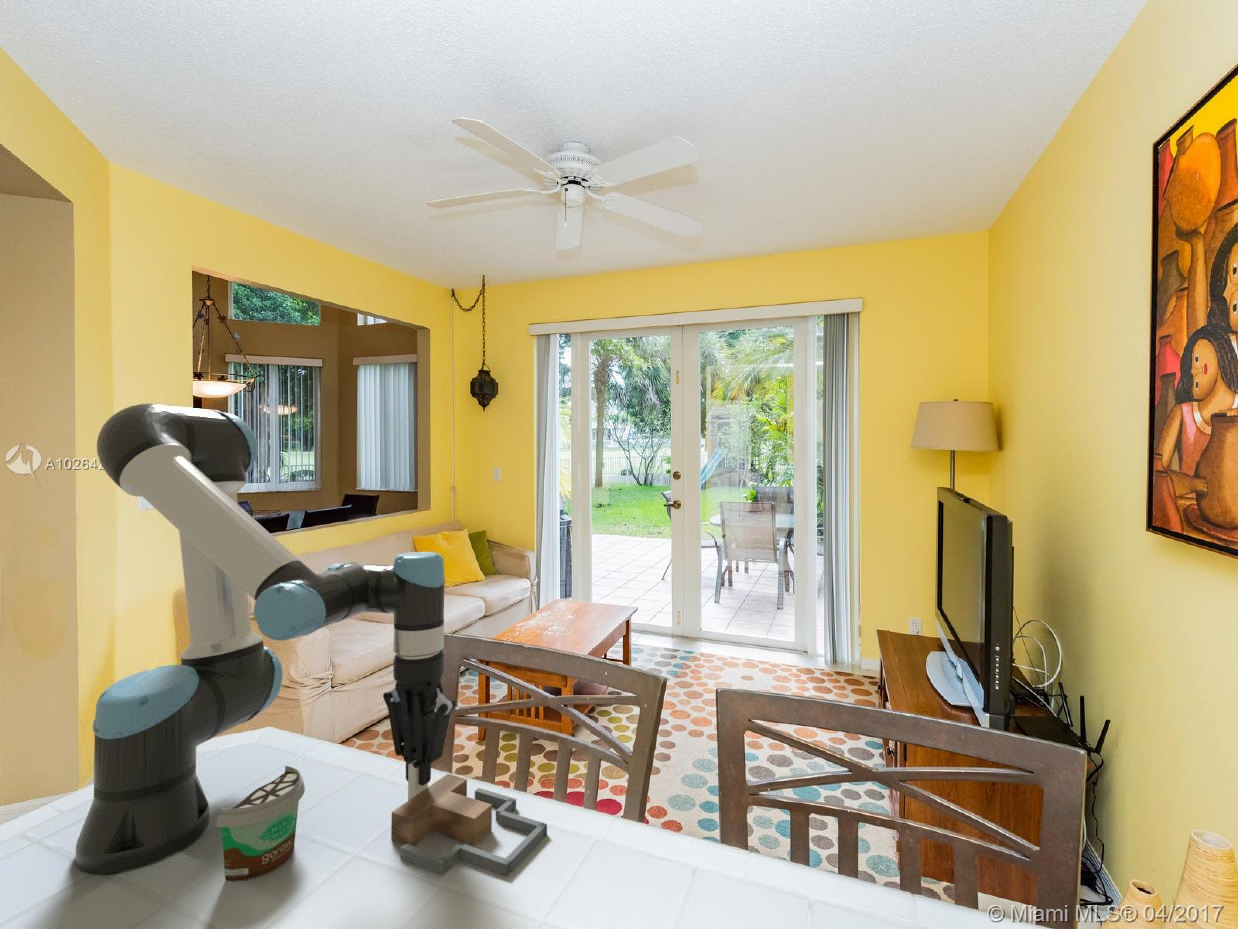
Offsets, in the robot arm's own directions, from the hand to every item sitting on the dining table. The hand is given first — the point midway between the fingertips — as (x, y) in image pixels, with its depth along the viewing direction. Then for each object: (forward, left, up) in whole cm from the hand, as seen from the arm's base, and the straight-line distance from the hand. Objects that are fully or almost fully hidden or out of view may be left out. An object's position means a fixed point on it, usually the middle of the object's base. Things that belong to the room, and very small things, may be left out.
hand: (418, 802), depth 92 cm
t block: (+7, 0, -2) cm, 7 cm away
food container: (-10, -17, -2) cm, 20 cm away
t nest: (+13, 0, -2) cm, 13 cm away
